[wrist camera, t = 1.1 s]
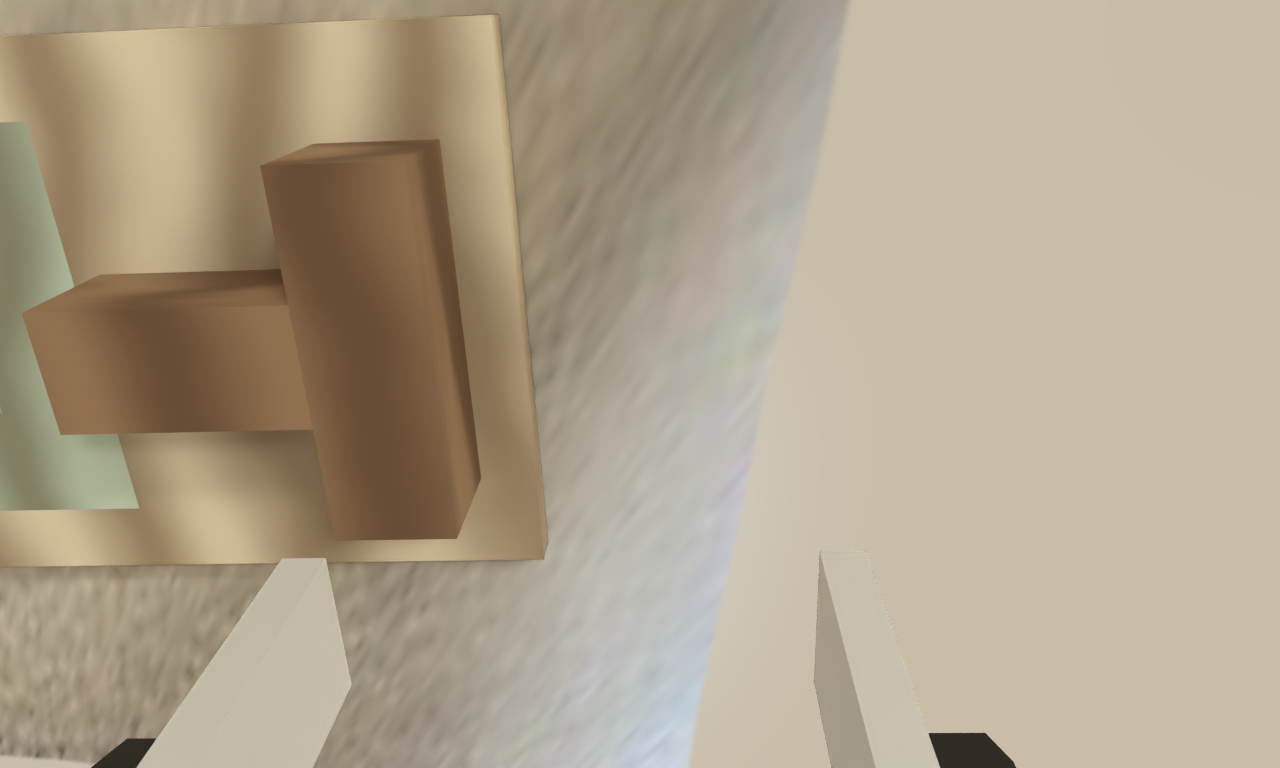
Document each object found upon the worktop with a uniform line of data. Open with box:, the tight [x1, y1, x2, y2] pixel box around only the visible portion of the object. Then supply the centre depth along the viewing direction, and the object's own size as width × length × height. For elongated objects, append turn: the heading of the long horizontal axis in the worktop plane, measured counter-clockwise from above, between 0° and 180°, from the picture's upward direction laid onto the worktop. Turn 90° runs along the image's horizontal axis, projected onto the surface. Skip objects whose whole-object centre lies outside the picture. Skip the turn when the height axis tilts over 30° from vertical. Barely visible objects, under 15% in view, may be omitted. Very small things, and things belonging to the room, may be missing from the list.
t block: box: [22, 139, 481, 541], centre depth 29 cm, size 12×12×4 cm
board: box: [0, 14, 548, 567], centre depth 32 cm, size 30×19×1 cm, turn 92°
